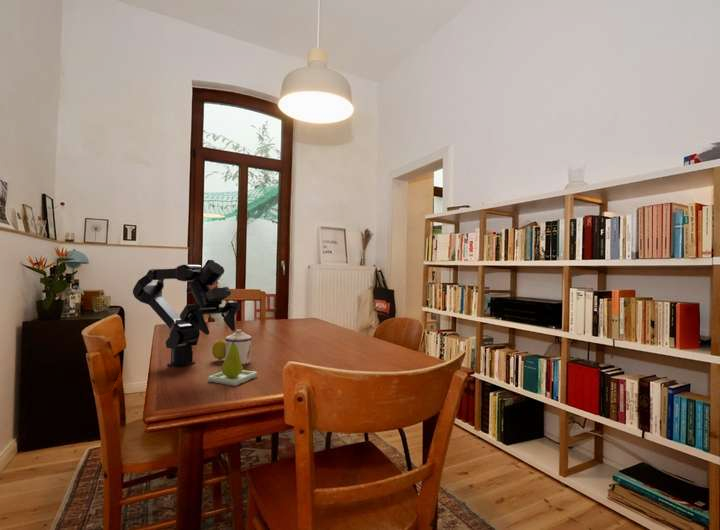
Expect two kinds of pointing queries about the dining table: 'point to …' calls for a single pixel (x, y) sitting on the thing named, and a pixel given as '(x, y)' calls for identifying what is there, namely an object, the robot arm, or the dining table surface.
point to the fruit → (232, 363)
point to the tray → (234, 381)
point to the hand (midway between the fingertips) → (221, 332)
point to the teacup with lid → (240, 345)
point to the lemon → (219, 349)
